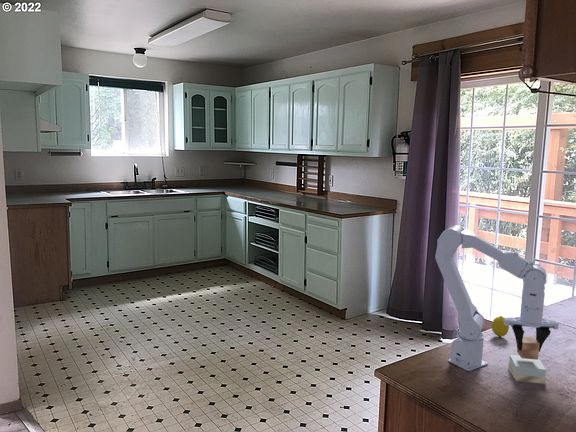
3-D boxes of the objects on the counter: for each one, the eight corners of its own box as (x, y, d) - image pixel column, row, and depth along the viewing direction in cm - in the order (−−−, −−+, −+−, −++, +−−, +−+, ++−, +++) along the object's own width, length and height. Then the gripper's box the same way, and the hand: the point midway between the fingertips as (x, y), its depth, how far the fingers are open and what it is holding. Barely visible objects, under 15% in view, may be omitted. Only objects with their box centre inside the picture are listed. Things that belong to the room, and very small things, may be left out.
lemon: (510, 340, 165) (512, 319, 164) (494, 340, 166) (496, 318, 164) (503, 334, 171) (505, 313, 170) (488, 334, 171) (490, 313, 170)
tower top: (515, 374, 137) (516, 366, 137) (509, 362, 145) (509, 354, 144) (545, 377, 135) (546, 369, 135) (537, 365, 143) (537, 357, 143)
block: (521, 358, 138) (523, 342, 137) (517, 351, 142) (518, 336, 142) (538, 359, 137) (539, 343, 137) (532, 352, 142) (534, 337, 141)
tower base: (515, 382, 137) (516, 375, 137) (508, 370, 145) (508, 362, 145) (545, 385, 136) (545, 377, 135) (535, 372, 144) (536, 364, 143)
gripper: (509, 309, 134) (506, 353, 137) (564, 312, 132) (559, 357, 134) (503, 301, 141) (499, 343, 143) (554, 304, 139) (550, 347, 141)
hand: (528, 349), depth 139 cm, fingers closed on block, 4 cm apart
